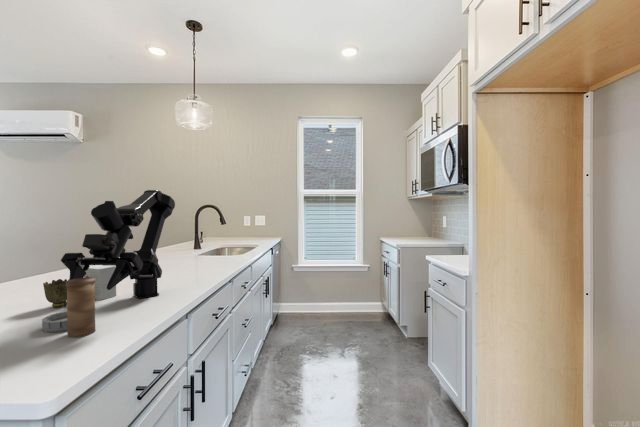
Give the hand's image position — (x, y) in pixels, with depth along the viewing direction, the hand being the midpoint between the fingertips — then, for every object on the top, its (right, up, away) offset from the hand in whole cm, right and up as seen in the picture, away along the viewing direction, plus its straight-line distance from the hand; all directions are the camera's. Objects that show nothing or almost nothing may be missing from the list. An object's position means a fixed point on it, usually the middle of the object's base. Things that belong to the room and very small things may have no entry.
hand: (89, 289), depth 79 cm
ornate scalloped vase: (-22, -10, +18) cm, 30 cm away
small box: (-17, -10, +28) cm, 34 cm away
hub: (-8, -10, +2) cm, 13 cm away
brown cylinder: (0, -10, -3) cm, 10 cm away
